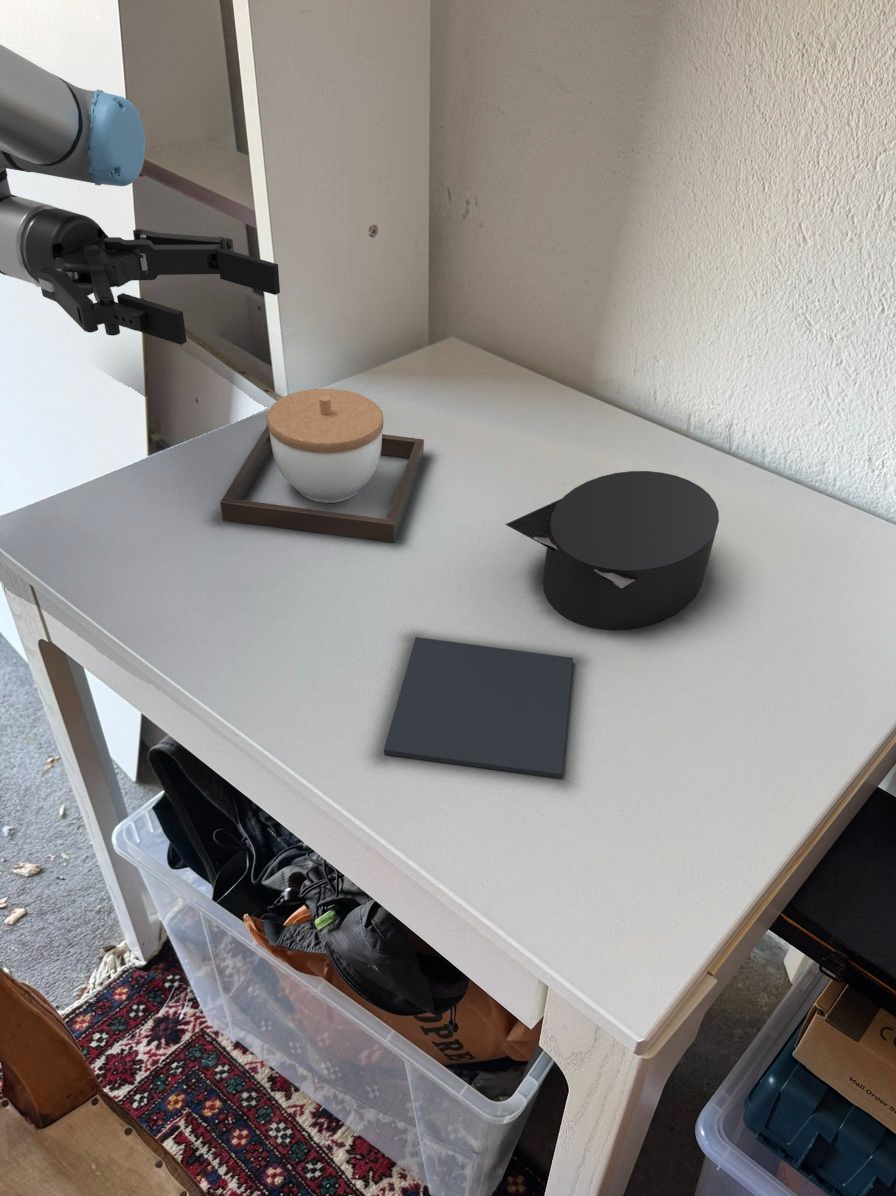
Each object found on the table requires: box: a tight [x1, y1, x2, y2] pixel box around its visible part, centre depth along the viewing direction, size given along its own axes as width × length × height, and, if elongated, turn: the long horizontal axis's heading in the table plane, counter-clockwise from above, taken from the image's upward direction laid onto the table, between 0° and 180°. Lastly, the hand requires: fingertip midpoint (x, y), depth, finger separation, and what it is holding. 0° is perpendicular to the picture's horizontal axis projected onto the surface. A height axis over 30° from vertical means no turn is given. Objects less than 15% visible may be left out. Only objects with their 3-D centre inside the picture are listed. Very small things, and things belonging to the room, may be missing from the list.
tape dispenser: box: [504, 470, 720, 631], centre depth 90 cm, size 14×18×8 cm
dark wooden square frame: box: [219, 423, 425, 543], centre depth 99 cm, size 16×16×2 cm
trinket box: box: [266, 388, 384, 504], centre depth 96 cm, size 11×11×9 cm
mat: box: [383, 636, 574, 779], centre depth 78 cm, size 13×13×1 cm
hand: (232, 302), depth 92 cm, fingers open, 13 cm apart
